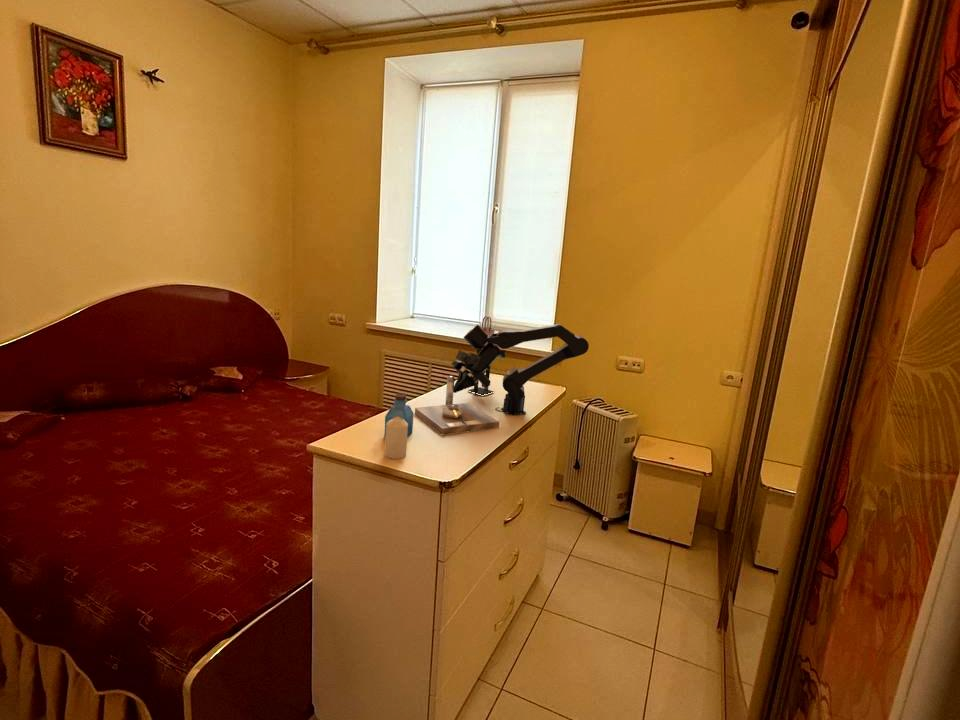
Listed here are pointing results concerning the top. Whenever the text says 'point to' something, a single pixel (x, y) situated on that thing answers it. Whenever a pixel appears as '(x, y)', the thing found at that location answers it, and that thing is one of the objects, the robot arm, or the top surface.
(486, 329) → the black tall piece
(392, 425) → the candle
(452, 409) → the metal post and dome
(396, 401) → the perfume bottle
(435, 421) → the stand
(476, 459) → the top surface
